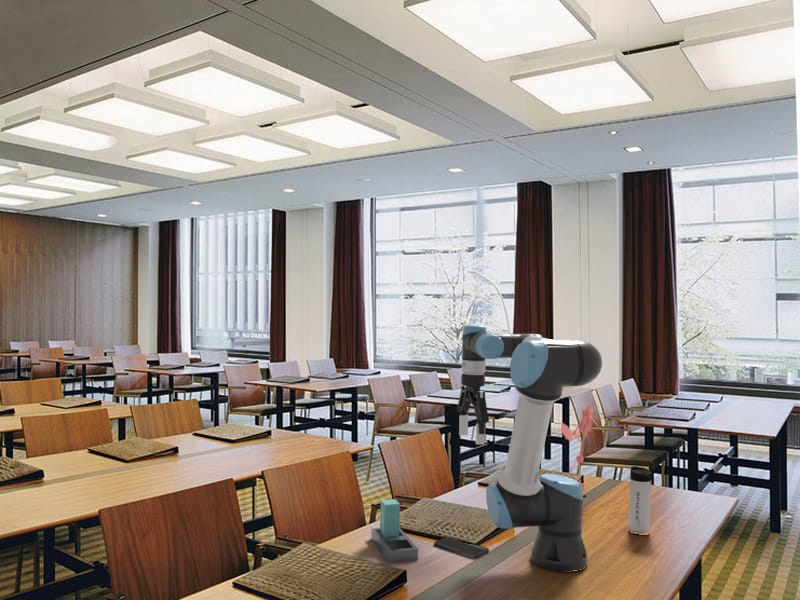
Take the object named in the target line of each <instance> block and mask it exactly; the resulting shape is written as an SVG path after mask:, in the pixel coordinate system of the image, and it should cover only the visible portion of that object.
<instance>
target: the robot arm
mask: <svg viewBox="0 0 800 600" xmlns="http://www.w3.org/2000/svg"><path fill="white" fill-rule="evenodd" d="M461 339H462V340H461V342H462V343H461V344H462V346H461V363H460V366H461V372H462V374H461V380H460V381H461V382H460V383H461V387H460V394H459V398H458V404H457V407H456V412H457V413H458V414H459V425H458V426H459V428H458V429H459V431H458V434H459V436H468V434H469V415H470V413H469V411H470V408H471V406H473V410H474V413H475V414H474V415H475V418H476V421H475V427H476V428H475V445H485V444H486V443H485V440H486V439H485V438H486V424H487V423H489V421H490V418H489V413H488V412H489V411H488V407H487V402H486V401H487V400H486V391H485V390H481V387H484V386H485V385H486V375H485V373H486V363H487V362H486V360H495V359H510V360H509V361H510V363H509V369H510V372H509V375H510V379H511V380H510V381H512V384H513V385H515V390H516V391H517V393H518V394H519V396H518V401H517V402H518V403H517V405H516V406H517V407H516V410H515V411H516V412H515V418H514V423H513V427H512V432H511V437H510V443H509V448H508V453H507V459H506V463H505V469H503V470H501V471H500V472H499V473H498V475H497V479H496V483H494V482H492V483H490V484H489V485H487V486H486V491H485V498H486V499H485V500H486V506H487V511H488V513H489V517H490V519H491V521H492V522H493V524H494V526H496V528H499V529H515V528H531V527H538V529H537V533H536V537H535V540H534V542H533V545H532V547H531V550H530V552H531V553H530V554H531V555H530V559H531V561H532V563H534V565H537V566H538V567H540V568H542V569H545V570H548V569H549V571H552V570H555V571H554V572H558V571H573V570H580V569H583V568H584V567H586V566H587V567H588V553H587V551H586V547H585V546H586V545H585V543H584V540H583V539H584V538H583V535H582V529H583V502H584V494H583V493H584V489H583V488H582V486H583V485H582V486H581V484H582V483H581V484H580V483H579V481H578V480H575V479H574V478H572V479H571V477H567V476H565V475H560V474H556V473H555V474H554V473H543V474H540V476H539V471H540V470H539V469H540V466H541V461H542V456H543V453H544V452H543V451H544V447H545V444H546V438H547V434H548V430H549V429H548V428H549V425H550V419H551V416H552V411H553V406H554V403H555V402H556V401H559V400H560V399H561V397H562V394H563V389H564V388H565V387H566V388H567V387H581V386H585V385H587V384H589V383H592V382H593V381H594V380H595V379H596V378H598V376H599V374H600V373H601V371H602V367H603V360H602V355H601V353H600V351H599V350H598V349H597V348H596V346H595V345H593V344H591V342H587V341H583V340H579V339H578V340H574V339H571V340H570V339H569V340H567V339H564V340H562V339H561V340H559V339H555V340H554V339H550V338H546V337H543V336H542V335H540V334H538V333H537V334H536V333H495V332H494V333H493V332H492V333H488V332H487V327H486V326H485V325H479V324H477V325H476V324H475V325H473V324H467V325H464V326H463V327H462V335H461ZM538 476H539V478H538ZM587 567H586V568H587ZM583 570H584V569H583ZM580 571H581V570H580Z"/></svg>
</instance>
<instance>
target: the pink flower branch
mask: <svg viewBox="0 0 800 600" xmlns="http://www.w3.org/2000/svg"><path fill="white" fill-rule="evenodd" d="M581 412H582V413H581V415H582V418H581V421H579V423H578V425H577V427H576V428H575V430H574V431H573V432H572V430H571V428H570V427H568V425H567V424H565V423H564V422H562V423H561V425H560V430H561V433H562V435H563V437H564V438H565V441H567V440H568V442H570V443H572V441H573V435H574V436H575V437H576V438H577V440H578V441H579V442H580V454H577V455H576V458H575V460H576V462H575V463H574V464H572V465H571V466H570V468H569V469H570V470H569V471H570V478H571V479H573V478H572V477H573V475H572V474H573V473H572V471H573V470H572V468H573V467H574V466H576V464H578V475H579V478H577V481H578V482H579V483H580V484H581V486H582V490H583V492H584V493H585V494H586V495H588V493H587V491H586V489H585V488H584V486H583V484H582V479H581V467H580V466H581V465H580V463H582V462H583V461H584V459H585V458H584V456H583V441H582V439H581V438H580V437H579V436H578V435H577V434H579V433H582V436H583V438H584V439H585V438H587V437H588V433H589V432H592V422H594V424H595V425H596V426H597V427H598V428H599V427H600V426H599V424H597V422H596V421H595V420H594V418H593V416H594V409H593V408H592V409H591V403H587V405H586V408H585V407H584V408H582V411H581ZM606 500H608V498H607V497H606ZM608 504H609V503H608V502H606V505H608ZM602 506H603V504H601V505H600V507H602Z"/></svg>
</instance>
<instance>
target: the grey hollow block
mask: <svg viewBox="0 0 800 600" xmlns="http://www.w3.org/2000/svg"><path fill="white" fill-rule="evenodd" d="M371 540H372V542H373V543H374V544H375V545H374V546H376V548H377V549H378V551H379V552H380V553H381V555H382V556H383V557H384V559H385V560H386V562H387V563H399V562H409V561H418V560H419V548H418V547H417V545H415V543H414V542H413V541H412V539H410V538H409V536H408V535H407V534H406V533H405V531H404V530H402V528H401V527H400V526H399V536H394V537H381V536H380V527H379V528H371Z"/></svg>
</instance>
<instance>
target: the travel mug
mask: <svg viewBox="0 0 800 600" xmlns="http://www.w3.org/2000/svg"><path fill="white" fill-rule="evenodd" d="M629 471H630V474H629V477H630V478H629V497H628V498H629V501H628V503H629V504H628V532H629V531H632V532H637V533H645V532H649V531H651V528H650V527H651V506H652V505H651V504H652V503H651V502H652V501H651V500H652V499H651V498H652V496H651V495H652V471H651V470H649V469H647V468H644V467H640V466H639V467H638V465H637V466H636V465H633V466H631V467H630V470H629Z"/></svg>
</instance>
